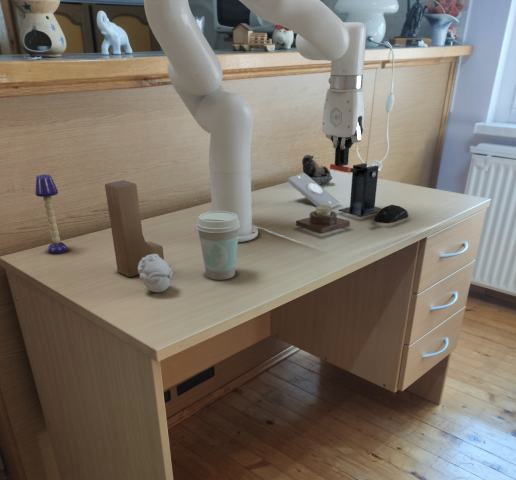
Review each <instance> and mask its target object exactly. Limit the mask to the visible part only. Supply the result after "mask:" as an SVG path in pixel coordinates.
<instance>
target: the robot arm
mask: <svg viewBox="0 0 516 480" xmlns="http://www.w3.org/2000/svg"><path fill="white" fill-rule="evenodd" d="M238 1H239V2H240V3H241V4H243V5H244V6H245V7H246V8H247V9H248V10H249V11H251V13H252V14H254V15H256V17H257V18H259V19H261V20H263V21H265V22H268V23H270V24H273V25H277V26H279V27H280V26H281V27H283V28H286V29H287V30H290V31H292V32H294V33H295V34H296V37H295V47H296V48H295V49H296V50H297V52H298V53H299V55H300V56H301V57H303V58H304V59H306V60H309V61H325V62H327V61H328V62H330V77H329V78H328V84H329V89H327V91H326V93H325V98H324V103H323V104H324V105H323V112H322V123H321V131H322V133H323V134H325V138H326V139H329V140H330V141H331V142H332V145H333V146H332V147H333V149H335V151H334V152H335V153H334V164H335V165H336V166H344V167H345V166H348V165H349V155H350V149H351V148H352V147H353V145H354V144H355V143H360V142H362V135H363V133H364V130H365V129H364V128H365V118H366V117H365V116H366V111H365V110H366V107H365V104H366V103H365V92H364V90H363V83H364V82H363V81H364V69H365V56H366V55H365V54H366V42H367V41H366V40H367V27H366V24H365V23H363V22H360V21H346V22H345V21H343V20H342V19H341V18H340V17H339V16H338V15H336V13H335V12H334V11H332V10H331V8H330V7H328V6H327V4H325V3H324V2H323V1H321V0H238ZM143 6H144V13H145V17H146V20H147V23H148V26H149V28H150V30H151V32H152V34H153V36H154V38H155V39H156V41H157V42H158V44H159V46H160V48H161V49H162V51H163V53H164V55H165V57H166V58H167V59H168V60H167V65H166V67H167V75H168V78H169V81H170V83H171V85H172V87H173V88H174V90H175V92H176V93H177V95H178V97H179V98H180V99H181V101H182V103H183V104H184V106H185V107H186V108H187V110H188V111H189V113H190V115H191V116H192V117H193V119H194V121H196V123H197V125H198V126H199V127H200V128H201V129H202V130H203V131H205V132H206V133H208V134H210V137H209V138H210V139H209V147H208V148H209V149H208V167H209V183H210V203H211V212H213V211H226V212H232V213H235V214H236V215H237V217H238V220H239V222H240V227H239V230H238V243H243V242H249V241H251V240H253V239H255V238H257V237H258V235H259V229H258V228H257V227H256V226H254V225H253V220H252V219H253V218H252V217H253V216H252V167H251V166H252V163H251V161H252V160H251V155H252V154H251V153H252V152H251V151H252V141H253V140H252V139H253V131H254V114H253V110H252V107H251V106H250V104H249V102H248V101H247V100H246V99H245V98H244V97H243V96H241V95H239V94H237V93H234V92H231V91H230V92H229V91H225V89H224V87H223V86H222V82H223V76H224V75H223V74H224V73H223V67H222V64H221V61H220V59H219V58H218V56H217V55H216V53H215V52H214V50H213V48H212V46H211V45H210V44H209V41H208V40H207V38H206V36H205V35H204V34H203V32H202V30H201V28H200V26H199V25H198V23H197V21H196V19H195V16H194V15H193V12H192V10H191V7H190V3H189V0H143ZM196 226H197V225H195V226H194V231H195V233H196V234H197V235H199V232H198V229H197V228H196Z"/></svg>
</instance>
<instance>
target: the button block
mask: <svg viewBox="0 0 516 480" xmlns="http://www.w3.org/2000/svg"><path fill="white" fill-rule="evenodd" d="M350 224H351V220H347V219H344V218H341V217H338V214H337V213H336V212H335V211H332V210H331V215H330V216H318V215H316V210H313V211H310V213H309V217H306V218H305V217H304V218H301V219H297V220H296V221H295V226H296V227H300V228H301V229H302V228H303V229H304V230H307V231H311V232H314V233H316V234H319V235H322V234H326V233H329V232H333V231H337V230H339V229H345V228H348V227H350V226H351V225H350Z"/></svg>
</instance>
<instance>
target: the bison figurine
mask: <svg viewBox="0 0 516 480" xmlns="http://www.w3.org/2000/svg"><path fill="white" fill-rule="evenodd" d="M301 165H302V173H305V174H306V175H307V176H309V177H310V178H311V179H312V180H314V181H315V182H316V183H317V184H318V185H320V186H322V185H327V184H329V183H330V182H331V181H332V180H333V176H332V174H331V171H330V169H328V167H327V166H326V165H323V164H319V163H318V162H316V161H315V160H314V155H311V154H305V155H304V156H303V157H302V160H301Z"/></svg>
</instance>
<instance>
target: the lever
mask: <svg viewBox="0 0 516 480" xmlns="http://www.w3.org/2000/svg"><path fill="white" fill-rule="evenodd" d="M329 170H333V171H339V172H343V173H348V174H350V173H358V176H360V177H364V170H365V167H360V168H359V169H354V168H353V167H349V166H345V165H344V166H336V165H335V163H330V165H329Z"/></svg>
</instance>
